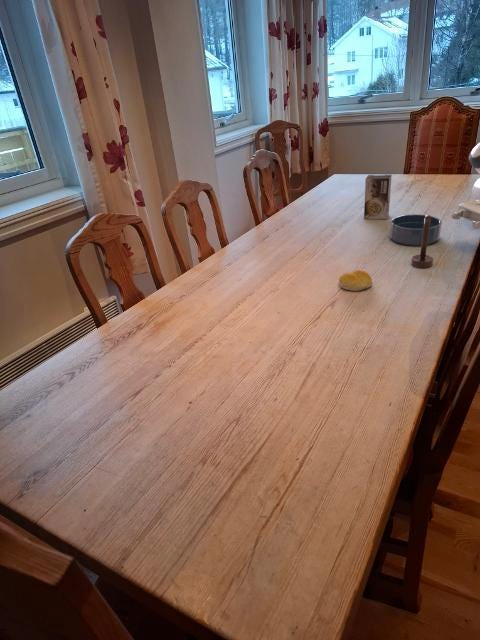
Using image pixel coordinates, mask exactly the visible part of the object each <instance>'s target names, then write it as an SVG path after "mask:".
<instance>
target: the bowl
mask: <svg viewBox="0 0 480 640" xmlns="http://www.w3.org/2000/svg"><path fill="white" fill-rule="evenodd" d="M426 215H427V214H403V215H398V216H395V217H393V218H392V219H390V226H389V238H390V239H391V240H392V241H393V242H395V243H397V244H400V245H404V246H409V247H410V246H413V247H421V244H422V236H423V228H424V220H425V216H426ZM430 216H431V221H430V228H429V235H428V242H427V246H429V245H432V244H434V243H436V242H438V240H439V239H440V237H441V231H442V224H443V223H442V220H441V219H440V218H438V217H436V216H432V215H430Z"/></svg>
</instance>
